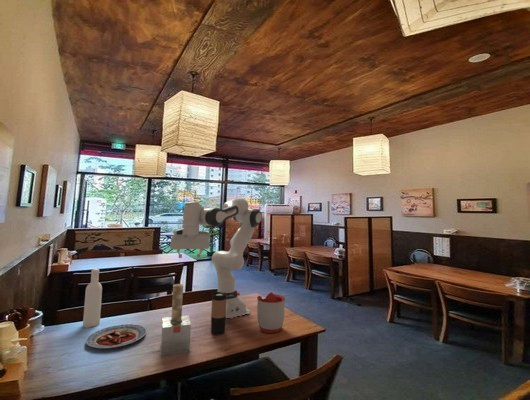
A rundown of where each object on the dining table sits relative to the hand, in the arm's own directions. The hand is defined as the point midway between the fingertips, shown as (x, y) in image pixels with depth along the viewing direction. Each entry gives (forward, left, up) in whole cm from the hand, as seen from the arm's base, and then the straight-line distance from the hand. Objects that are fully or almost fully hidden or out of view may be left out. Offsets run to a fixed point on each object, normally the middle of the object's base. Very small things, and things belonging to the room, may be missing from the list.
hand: (189, 257), depth 139 cm
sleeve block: (+6, +14, -39) cm, 42 cm away
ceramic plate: (+32, -4, -40) cm, 51 cm away
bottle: (+48, -27, -39) cm, 68 cm away
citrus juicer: (-44, +8, -39) cm, 60 cm away
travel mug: (-16, +4, -39) cm, 43 cm away
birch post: (+6, +14, -31) cm, 34 cm away
